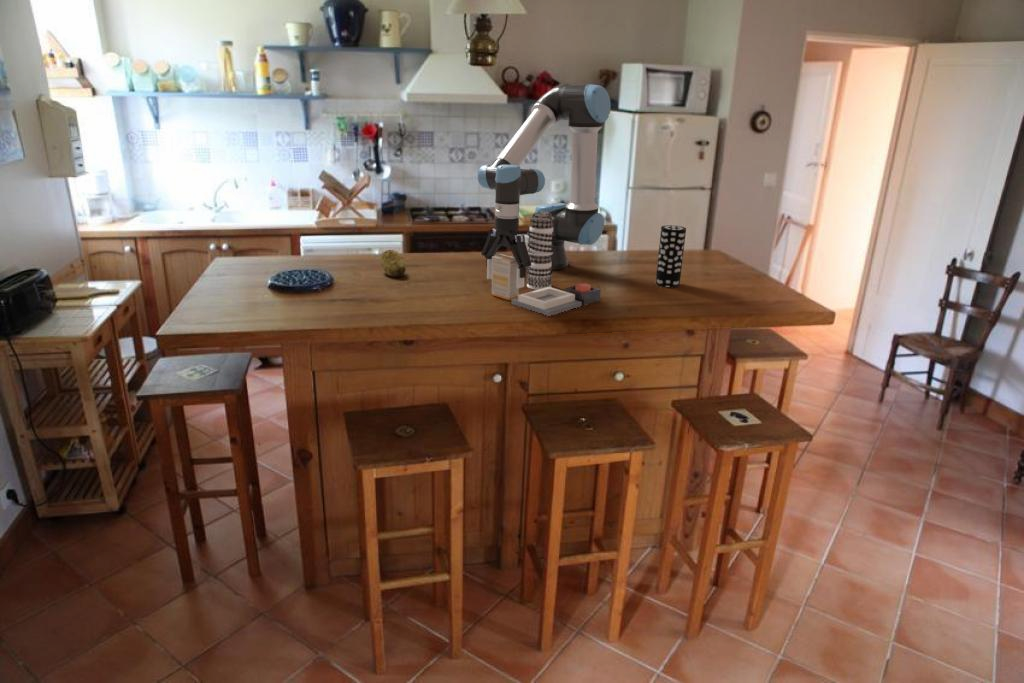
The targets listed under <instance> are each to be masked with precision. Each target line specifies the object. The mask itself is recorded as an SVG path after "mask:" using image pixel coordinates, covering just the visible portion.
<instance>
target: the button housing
mask: <svg viewBox="0 0 1024 683" xmlns="http://www.w3.org/2000/svg"><path fill="white" fill-rule="evenodd" d="M575 286H576V284H575V285H572V286H569V287H568V286H567V287H565V289H564V291H565V292H569V293H572V294H575V300H576V301H580V302H582V305H586V304H589V305H591V304H590V303H592V304H594V303H593V302H595V303H597V302H596V301H599V302H600V301H601V291H602V289H601V288H598V287H594V286H591V289H590V291H587V292H581V291H578V290H575ZM586 306H587V305H586Z"/></svg>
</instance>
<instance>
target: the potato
mask: <svg viewBox="0 0 1024 683" xmlns="http://www.w3.org/2000/svg"><path fill="white" fill-rule="evenodd" d="M380 264H381V266H382V268H383V270H384V273H385V274H386V275H388V276H389V277H394V278H395V277H396V278H400V277H402V276H403V275H405V273H406V270H407V269H406V265H405V262H404V258H403V256H402V255H401V254H399V253H398V251H397V250H393V249H388V250H385V251H383V253H382V254H381V256H380Z"/></svg>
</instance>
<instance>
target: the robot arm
mask: <svg viewBox="0 0 1024 683" xmlns="http://www.w3.org/2000/svg"><path fill="white" fill-rule="evenodd" d="M611 108H612V106H611V98H610V95H609V93H608V91H607V89H606V88H605V87H603V86H602V85H598V84H591V83H590V84H576V83H575V84H573V83H571V84H570V83H561V84H559V85H556V86H554V87H553V88H551V89H549V90H548V91H546V92H545V93H544V94H543V95H541V96H540V97H539V98H538V100H537V101H536V102H535V103H534V104H533V106H532V107H531V109H530V114H529V115H528V117H527V118H526V120H524V122H523V124H521V126H520V127H519V129H517V131H516V132H515V134H514V135H513V136H512V137H511V139H510V140H509V141H508V143H507V144H506V145H505V147H504V148H503V149H502V150H501V152H500V153H499V155H498V156H497V157H496V158H495V160H494V161H493V162H492V164H483V165H481V167H479V169H478V173H477V182H478V183H479V185H480V186H481V187H482V188H484V189H488V190H495V199H494V200H495V201H494V215H495V217H494V228H489V229H488V235H487V238H486V241H485V243H484V246H483V247H482V251H481V256H482V257H483V256H484V258H485V267H486V279H487V280H492V256H496V255H497V252H498V251H499V249H501V247H505V248H507V249H508V250H510V251H511V254H512V255H513V256H512V257H514V258H515V260H516V262H517V264H518V266H519V267H518V268H517V280H516V288H519V289H521V288H524V287H525V278H527V267H529V266H531V261H530V258H529V253H528V248H527V247H528V246H526V245H527V244H526V238H525V234H521V235H519V234H518V230H519V227H520V218H519V216H520V198H521V197H520V196H523V195H531V194H532V195H533V194H537V193H539V192H541V191H542V190H543V189H544V188H545V184H546V179H545V178H546V177H545V175H544V173H543V172H542V171H541V170H540V169H537V168H529V169H526V168H521V167H520V166H521V164H522V163H523V162H524V161H525V159H526V158H527V156H529V154H530V152H531V151H532V150H533V149H534V147H535V146H536V144H538V142H539V141H540V139H541V138H542V137H543V135H544V134H545V133H546V131H547V130H548V129H550V128H552V127H553V126H555V124H556V123H557V122H559V121H563V120H565V121H568V128H569V130H571V132H572V136H571V137H572V142H571V143H572V144H571V168H570V169H571V172H570V197H569V198H570V200H569V202H568V203H565V202H564V203H563V202H558V203H557V202H555V203H553V202H552V203H545V204H539V205H537V206H536V207H535V209H534V213H535V212H548V213H550V214H551V215H552V217H554V219H553V232H552V233H553V234H554V235H555V236H554V237H552V238H553V239H554V240H555V241H554V242H552V245H554V247H553V248H551V249H553V250H554V251H553V254H552V255H551V261H552V265H551V266H552V270H554V271H555V270H561V269H565V268H567V267H568V265H569V259H568V257H567V253H566V247H565V242H569V243H573V244H574V243H575V244H579V245H585V246H591V245H594V244H595V243H596V242H598V240H599V239H600V237H601V235H602V233H603V230H604V227H605V218H604V215H602V214H601V212H599V205H598V204H597V203H596V202H595V194H596V176H597V175H596V174H597V158H598V157H597V156H598V155H597V153H598V152H597V150H598V138H599V137H598V136H599V135H598V134H599V131H600V130H601V129H602V128H603V126H604V125H603V124H604V122H607V120H608V119H609V115H610V113H611ZM552 270H551V271H552Z"/></svg>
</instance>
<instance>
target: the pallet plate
mask: <svg viewBox="0 0 1024 683" xmlns="http://www.w3.org/2000/svg"><path fill="white" fill-rule="evenodd" d="M510 302H511V305H513V306H516V305H517V306H516V307H519V308H521V307H523V309H524V308H526V309H525V310H527V309H529V310H528V311H530V310H532V311H531V312H533V311H535V312H534V313H536V312H538V313H537V314H539V313H542V314H544V315H543V316H545V315H547V316H546V317H548V316H550V317H552V316H551V315H553V316H555V315H554V314H556V315H558V314H557V313H560V312H563V313H565V312H564V311H566V312H568V311H567V310H569V311H571V310H570V309H573V308H576V309H578V308H577V307H579V308H581V307H580V306H582V302H580V301H576V300H575V294H572V293H569V292H565V290H562V289H559V288H556V287H552V286H551V287H546V288H543V289H539V290H531V291H529V292H528V291H527V292H525V293H521V294H520V293H519V295H518V298H515V299H511V300H510ZM582 307H583V306H582ZM573 310H574V309H573ZM542 314H541V315H542ZM560 314H561V313H560Z"/></svg>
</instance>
